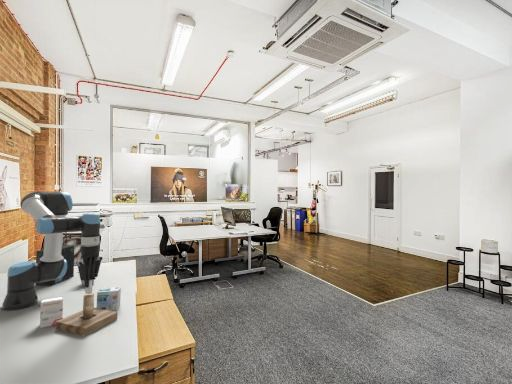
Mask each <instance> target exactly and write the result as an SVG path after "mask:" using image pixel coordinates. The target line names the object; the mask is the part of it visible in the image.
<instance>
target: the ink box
mask: <svg viewBox="0 0 512 384" xmlns="http://www.w3.org/2000/svg"><path fill="white" fill-rule="evenodd" d="M39 312H40V315H39V328H40V329H41V328H46V327H47V328H48V327H51V326H56V321H58V320H61V319H63V318H64V317H63V316H64V297H63V296H61V297H60V296H59V297H52V298H47V299H42V300H41V301H40V311H39Z"/></svg>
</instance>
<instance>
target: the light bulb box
mask: <svg viewBox="0 0 512 384" xmlns="http://www.w3.org/2000/svg"><path fill="white" fill-rule="evenodd" d="M121 295H122V287H121V286H116V287H114V286H113V287H101V288H100V289H99V290H98V291H97V293H96V308H99V309H104V310H110V311H115V312H117V311H118V310H119V309H120V307H121ZM118 308H119V309H118ZM116 310H117V311H116Z"/></svg>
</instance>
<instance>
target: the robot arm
mask: <svg viewBox="0 0 512 384" xmlns="http://www.w3.org/2000/svg"><path fill="white" fill-rule="evenodd" d="M72 198H73V197H72V196H71V194H70V193H69V192H66V191H40V190H39V191H32V192H30V193H27V194H26V195H25V196H23V197H22V198H21V201H20V205H19V206H20V208H21V209H22V211H23V212H24V213H25V214H29V215H30V216H31V218H33V219H34V221H35V222H36V223H35V230H36V233H37V234H39V235H44V243H43V249H44V254H43V257H41V258H40V262H39V263H36V261H35V260H27V261H21V262H17V263H14V264H12V265H10V266H9V267H8V271H7V284H6V285H7V286H6V287H7V288H6V289H7V290H6V295H5V297H4V300H3V302H2V306H1V308H2V310H3V311H4V310H5V311H15V310H21V309H26V308H29V307H32V306H34V305H36V304H38V300H39V298H38V297H39V296H38V295H37V291H36V290H35V286H36V285H35V283H40V282H45V281H51V280H56V279H60V278H62V277H63V276H64V275H65V273H66V270H67V261H66V260H65V259H64V257H63V256H62V255H61V249H62V245H63V235H64V233H75V232H76V233H77V232H81V239H80V242H81V243H80V245H81V247H80V254H81V257H80V260H79V261H76V262H75V265H76V266H77V269H78V270H77V271H78V272H79V273H78V274H79V278H80V281H81V280H83V281H85V285H84V289H85V291H84V293H85V294H92V293H93V286H94V282H95V281H94V280H96V278H97V277H98V276H99V271H100V267H101V263H102V261H103V258H104V257H102V256H100V255H99V252H100V228H101V226H100V225H101V215H100V214H99V213H98V212H97V213H94V212H93V213H92V212H91V213H90V212H89V213H83V214H82V215H78V216H67V215H68V214H69V212H70V211H72V209H73V206H74V205H73V204H74V203H73V199H72ZM83 264H84V265H83ZM85 294H84V295H85Z"/></svg>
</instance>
